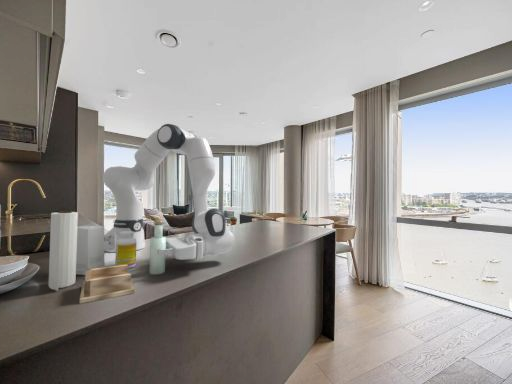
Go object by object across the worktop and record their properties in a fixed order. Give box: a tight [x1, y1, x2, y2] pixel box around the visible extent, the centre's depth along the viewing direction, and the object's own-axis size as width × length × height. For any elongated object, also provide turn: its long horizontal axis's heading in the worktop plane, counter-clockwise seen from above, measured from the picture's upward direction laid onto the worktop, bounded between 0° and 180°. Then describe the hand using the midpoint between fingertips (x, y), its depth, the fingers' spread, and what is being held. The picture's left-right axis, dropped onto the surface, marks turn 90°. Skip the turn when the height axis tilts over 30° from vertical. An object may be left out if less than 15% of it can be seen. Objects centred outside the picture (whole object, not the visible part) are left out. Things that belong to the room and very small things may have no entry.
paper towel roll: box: [48, 211, 79, 291], centre depth 67 cm, size 7×6×21 cm
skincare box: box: [76, 224, 105, 276], centre depth 78 cm, size 8×7×16 cm
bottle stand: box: [79, 264, 135, 304], centre depth 65 cm, size 12×12×5 cm
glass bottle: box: [148, 219, 167, 276], centre depth 80 cm, size 5×5×18 cm
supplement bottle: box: [114, 231, 137, 270], centre depth 85 cm, size 7×7×13 cm
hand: (155, 249), depth 80 cm, fingers open, 8 cm apart
